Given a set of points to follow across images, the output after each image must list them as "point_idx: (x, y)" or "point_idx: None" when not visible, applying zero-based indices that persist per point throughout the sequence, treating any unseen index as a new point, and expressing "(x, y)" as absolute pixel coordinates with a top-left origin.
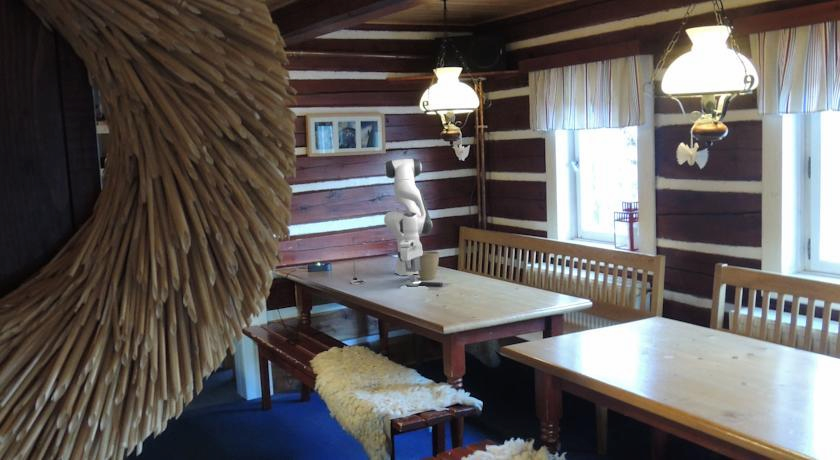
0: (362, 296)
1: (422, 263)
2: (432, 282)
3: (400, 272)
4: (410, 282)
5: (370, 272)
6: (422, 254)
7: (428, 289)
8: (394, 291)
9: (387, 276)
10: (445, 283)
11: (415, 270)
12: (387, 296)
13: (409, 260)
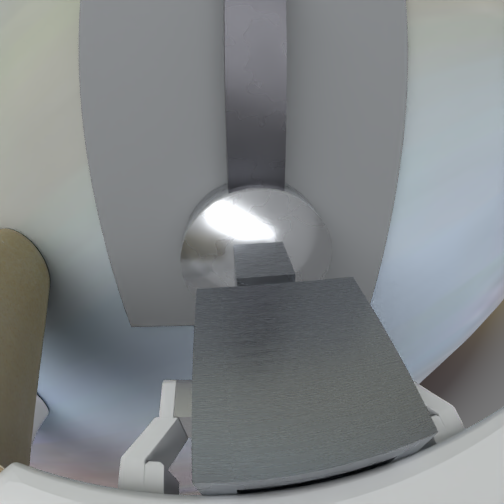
0: (472, 330)
1: (11, 371)
2: (243, 59)
3: (41, 415)
4: (323, 258)
5: (79, 460)
6: (6, 476)
7: (391, 50)
8: (412, 276)
9: (85, 431)
10: (98, 18)
11: (354, 288)
12: (500, 243)
13: (462, 426)
